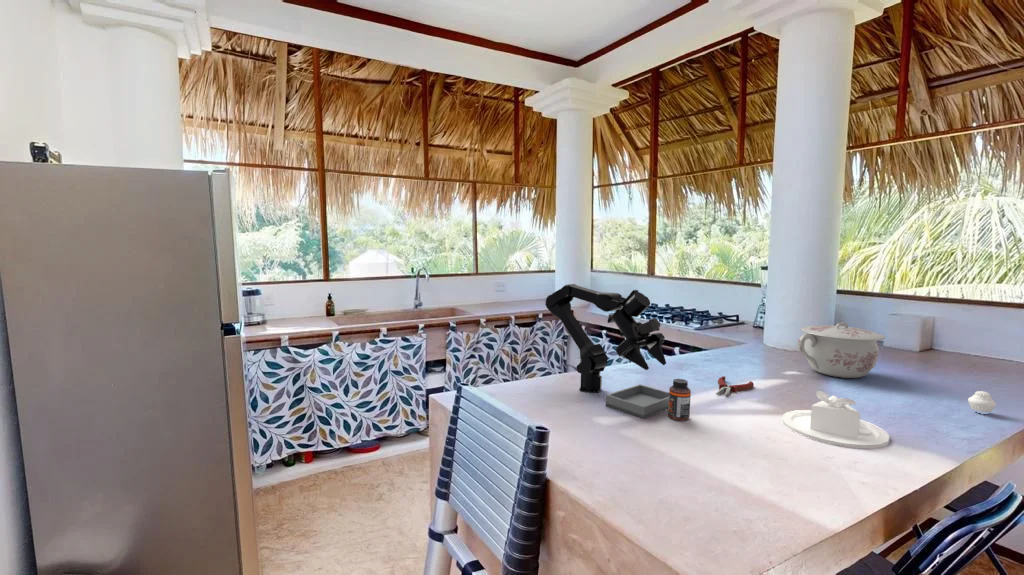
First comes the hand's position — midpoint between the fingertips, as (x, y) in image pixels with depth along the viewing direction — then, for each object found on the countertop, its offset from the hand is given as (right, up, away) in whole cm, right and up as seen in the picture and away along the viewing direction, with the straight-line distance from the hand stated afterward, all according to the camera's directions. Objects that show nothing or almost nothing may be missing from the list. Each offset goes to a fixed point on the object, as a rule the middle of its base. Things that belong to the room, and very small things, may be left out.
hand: (656, 366), depth 145 cm
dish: (+46, -16, -12) cm, 50 cm away
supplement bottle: (+5, -14, -5) cm, 16 cm away
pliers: (+32, -12, +24) cm, 42 cm away
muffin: (+101, -15, +2) cm, 102 cm away
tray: (-3, -13, +5) cm, 14 cm away
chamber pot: (+85, -10, +45) cm, 97 cm away
